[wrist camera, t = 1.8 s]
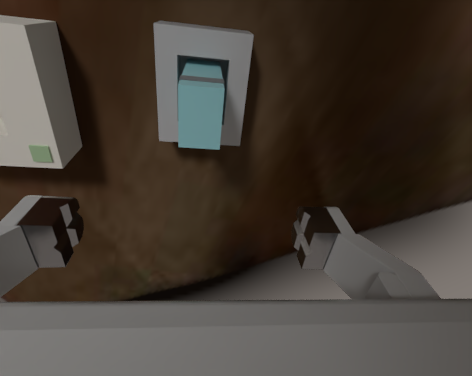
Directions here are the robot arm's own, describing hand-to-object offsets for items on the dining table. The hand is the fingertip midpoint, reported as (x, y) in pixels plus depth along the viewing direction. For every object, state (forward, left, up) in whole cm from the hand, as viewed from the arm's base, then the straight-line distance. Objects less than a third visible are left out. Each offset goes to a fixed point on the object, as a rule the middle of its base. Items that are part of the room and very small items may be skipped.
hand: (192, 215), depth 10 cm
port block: (+2, -19, -21) cm, 29 cm away
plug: (0, 0, -20) cm, 20 cm away
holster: (0, 0, -21) cm, 21 cm away
